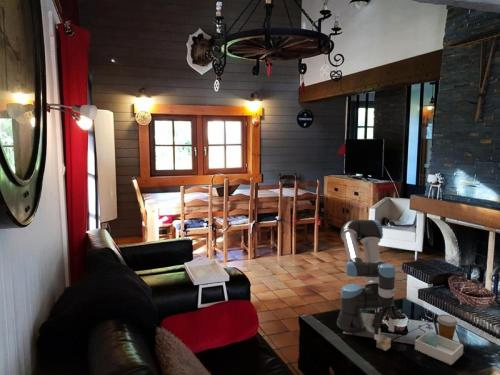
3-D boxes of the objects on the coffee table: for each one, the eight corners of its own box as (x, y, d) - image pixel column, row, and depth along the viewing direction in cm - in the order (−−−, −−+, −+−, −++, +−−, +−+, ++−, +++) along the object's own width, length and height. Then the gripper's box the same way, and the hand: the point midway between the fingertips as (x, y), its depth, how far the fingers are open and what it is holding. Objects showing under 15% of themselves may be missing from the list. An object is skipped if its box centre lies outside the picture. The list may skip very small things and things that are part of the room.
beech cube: (376, 347, 198) (376, 337, 197) (381, 343, 201) (382, 334, 200) (385, 351, 194) (385, 341, 193) (390, 347, 197) (391, 338, 197)
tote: (414, 349, 195) (415, 340, 194) (427, 340, 204) (427, 331, 203) (451, 365, 182) (452, 355, 181) (462, 354, 191) (463, 344, 190)
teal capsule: (424, 347, 196) (424, 334, 195) (428, 343, 199) (429, 331, 198) (434, 351, 192) (435, 338, 191) (438, 347, 195) (439, 334, 194)
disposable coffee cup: (458, 345, 199) (460, 323, 197) (438, 343, 201) (439, 321, 199) (452, 335, 208) (454, 314, 206) (433, 334, 210) (435, 313, 208)
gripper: (379, 304, 183) (377, 346, 185) (405, 291, 199) (403, 330, 201) (365, 299, 188) (364, 340, 191) (391, 286, 204) (390, 324, 207)
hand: (384, 335), depth 196 cm, fingers open, 13 cm apart
